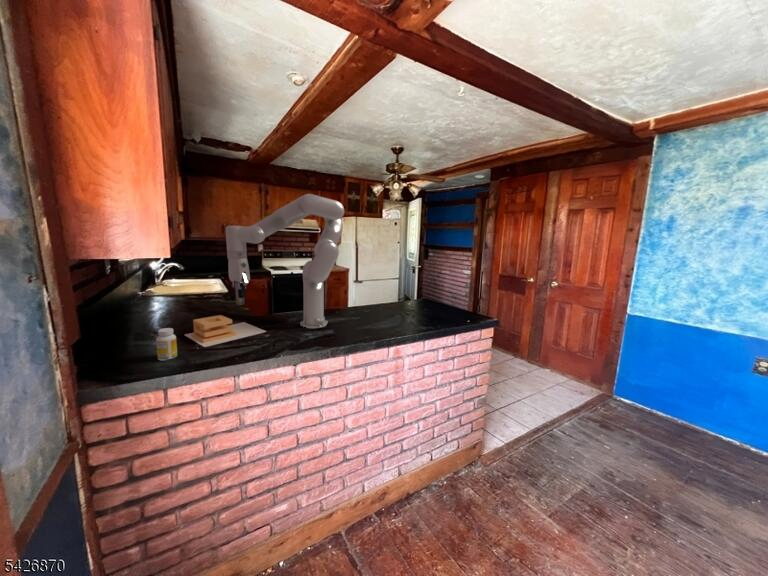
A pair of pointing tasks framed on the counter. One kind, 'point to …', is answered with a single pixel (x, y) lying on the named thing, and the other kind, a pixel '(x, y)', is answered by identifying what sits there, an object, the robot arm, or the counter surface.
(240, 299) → the pin
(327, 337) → the counter surface
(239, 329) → the mat
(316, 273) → the robot arm
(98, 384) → the counter surface
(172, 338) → the supplement bottle
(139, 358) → the counter surface
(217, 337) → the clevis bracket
